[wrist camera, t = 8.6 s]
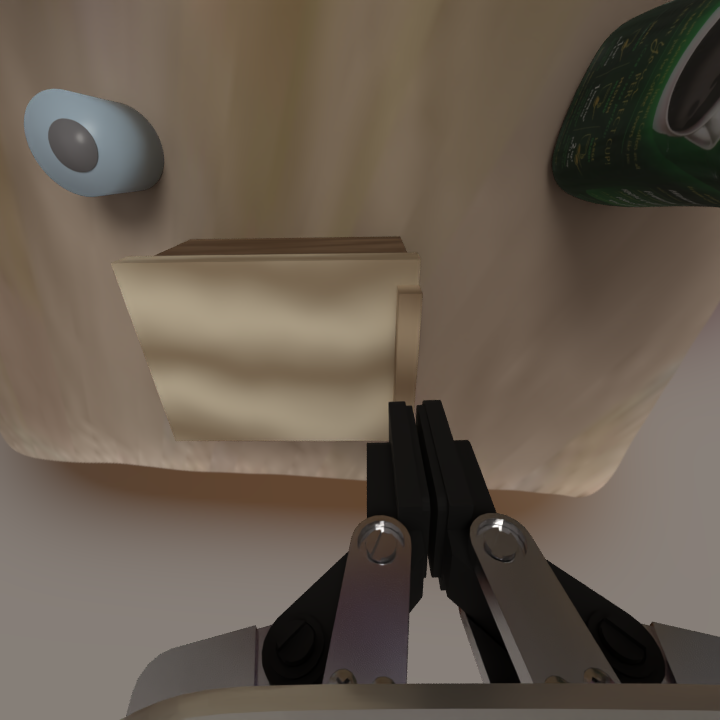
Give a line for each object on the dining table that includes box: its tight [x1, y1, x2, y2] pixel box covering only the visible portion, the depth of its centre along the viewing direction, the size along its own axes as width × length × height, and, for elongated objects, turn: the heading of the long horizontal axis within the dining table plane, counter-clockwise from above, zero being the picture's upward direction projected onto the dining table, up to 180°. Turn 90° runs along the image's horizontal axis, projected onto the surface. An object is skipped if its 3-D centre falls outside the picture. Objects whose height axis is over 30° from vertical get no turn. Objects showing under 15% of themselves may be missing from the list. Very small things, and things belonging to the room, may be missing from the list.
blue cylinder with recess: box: [24, 89, 164, 197], centre depth 22 cm, size 5×5×5 cm
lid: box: [111, 253, 423, 441], centre depth 22 cm, size 13×17×3 cm
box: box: [155, 237, 407, 256], centre depth 27 cm, size 12×16×7 cm
